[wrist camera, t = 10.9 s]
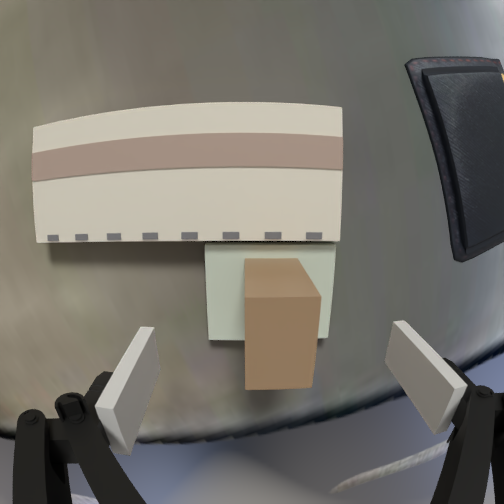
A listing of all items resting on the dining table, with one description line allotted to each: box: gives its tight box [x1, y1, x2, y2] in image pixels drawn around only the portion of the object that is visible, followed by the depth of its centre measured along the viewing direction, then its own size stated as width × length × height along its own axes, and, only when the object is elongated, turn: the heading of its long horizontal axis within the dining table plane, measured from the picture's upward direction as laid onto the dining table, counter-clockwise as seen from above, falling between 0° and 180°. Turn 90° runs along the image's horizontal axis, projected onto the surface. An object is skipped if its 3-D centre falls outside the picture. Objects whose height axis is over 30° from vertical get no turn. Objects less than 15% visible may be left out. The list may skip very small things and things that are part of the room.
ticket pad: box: [32, 102, 343, 243], centre depth 22 cm, size 25×10×2 cm, turn 90°
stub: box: [205, 243, 336, 390], centre depth 21 cm, size 10×8×9 cm
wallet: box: [405, 57, 504, 262], centre depth 23 cm, size 20×2×15 cm
